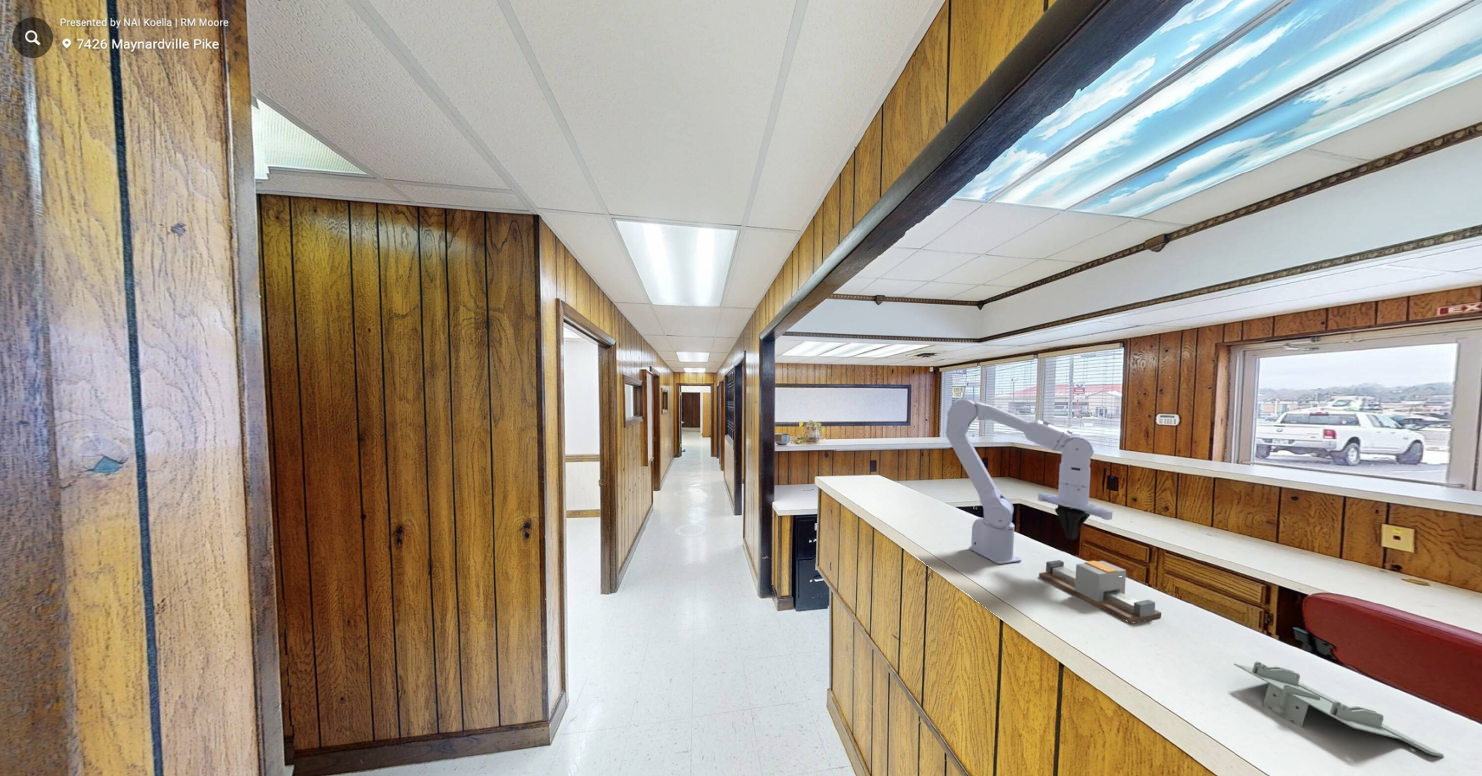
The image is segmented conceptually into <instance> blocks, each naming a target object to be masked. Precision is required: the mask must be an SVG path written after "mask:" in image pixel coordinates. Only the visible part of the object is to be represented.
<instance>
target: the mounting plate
mask: <svg viewBox="0 0 1482 776" xmlns="http://www.w3.org/2000/svg"><path fill="white" fill-rule="evenodd" d="M1038 574H1039V575H1038V577H1039V578H1040V579H1042V580H1045V581H1047V582H1048V583H1050V584H1052V585H1054V586H1056V587H1058V588H1060V589H1062V590H1064V591H1066V592H1068V593H1069V594H1072V595H1073V596H1075V597H1078V598H1079V599H1081V600H1083V601H1086V602H1087V603H1090V604H1092V605H1093V606H1095V607H1097V608H1099V609H1101V610H1102V611H1103V610H1104V612H1107V613H1110V614H1112V615H1113V616H1115V617H1117V618H1119V619H1121V618H1122V619H1121V620H1123V619H1124V620H1123V621H1125V620H1127V621H1128V622H1127V621H1126V622H1127V623H1129V622H1130V623H1129V624H1131V623H1132V624H1134V623H1133V622H1136V623H1139V622H1138V621H1141V622H1144V620H1146V621H1150V620H1149V619H1151V620H1154V619H1160V618H1162V612H1161V611H1159V610H1157V609H1155V614H1154V615H1149V616H1144V617H1138V616H1136V615H1134V613H1132V612H1130V611H1128V610H1126V609H1123V608H1121V607H1119V606H1117V605H1115V604H1113V603H1111V602H1109V601H1107V600H1105V599H1103V601H1099V602H1097V601H1095V600H1093V599H1091V598H1089V597H1087V596H1085V595H1083V594H1081V593H1079V592H1077V591H1075V585H1074V584H1072V583H1070V582H1068V581H1066V580H1064V579H1061V578H1059V577H1057V576H1055V575H1053V574H1049V573H1047V572H1046V571H1044V572H1038Z"/></svg>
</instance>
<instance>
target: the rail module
mask: <svg viewBox="0 0 1482 776" xmlns="http://www.w3.org/2000/svg"><path fill="white" fill-rule="evenodd" d="M1101 568H1102V569H1101ZM1104 569H1105V570H1104ZM1075 572H1076V579H1075V591H1077V592H1079V593H1081V594H1083V595H1085V596H1087V597H1089V598H1091V599H1093V600H1095V601H1097V602H1099V601H1103V592H1105V591H1111V590H1116V591H1118V592H1120V593H1123V594H1125V595H1126V577H1127V570H1126V569H1124V568H1122V567H1119V566H1116V565H1115V564H1114V565H1113V564H1112V563H1108V562H1107V561H1104V560H1099V561H1098V560H1089V561H1084V563H1078V564H1075ZM1119 576H1122V577H1119Z"/></svg>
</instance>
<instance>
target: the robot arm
mask: <svg viewBox="0 0 1482 776" xmlns="http://www.w3.org/2000/svg"><path fill="white" fill-rule="evenodd" d="M946 416H947V420H946V426H945V427H946V428H945V435H946V438H947V439H948V441H949V444H951V447H952V449H953V450H954V452H955V455H956V456H957V457H958V460H959V461H960V463H961V465H962V466H963V468H964V471H965V472H966V473H967V476H968V477H969V480H970V481H971V484H973V487H974V488H975V491H976V492H977V494H978V497H979V502H980V505H981V506H982V508H983V517H979V518H977V519H975V520H974V522H973V524H972V525H971V526H972V527H971V544H970V546H968V549H969V550H970V551H973V552H975V553H977V554H979V555H980V556H983V557H984V558H986V559H988V560H990V561H992V562H993V563H996V564H998V565H1003V564H1011V563H1019V562H1022V559H1021V558H1019V557H1017V556H1016V555H1014V542H1015V541H1014V539H1015V524H1014V523H1013V522H1012V521H1013V514H1014V509H1015V508H1014V505H1013V503H1012V502H1011V501H1010V500H1009V499H1008V498H1007V497H1005V496H1004V495H1003V493H1002V491H1001V490H1000V488H998V487H997V485H996V484H995V482H994V480H993V478H992V477H991V475H990V473H989V471H988V470H987V468H986V466H985V464H984V462H983V461H982V458H981V457H980V456H979V453H978V452H977V450H976V449H975V448H976V447H974V445H973V444H972V441H971V440H970V438H969V436H968V432H969V429H970V426H971V424H972V422H974V420H975V419H976V420H977V421H987V420H991V421H993V422H996V423H998V424H1001V425H1004V426H1007V427H1009V428H1012V429H1014V430H1016V431H1019V432H1021V433H1023V434H1024V436H1025V439H1026V440H1028V441H1030V442H1033V443H1035V444H1037V445H1039V446H1041V447H1044V448H1046V449H1048V450H1051V451H1053V452H1061V460H1060V461H1061V462H1060V463H1059V471H1058V472H1059V473H1058V474H1059V476H1058V491H1057V492H1058V493H1057V494H1058V495H1055V494H1049V493H1045V492H1040V493H1039V492H1038V493H1037V497H1038V498H1037V501H1039V502H1043V503H1044V502H1045V503H1048V504H1052V505H1055V506H1057V507H1055V508H1054V512H1055V513H1056V514H1057V516H1058V518H1059V520H1060V522H1061V525H1062V528H1063V529H1062V530H1063V532H1064V536H1065V537H1064V538H1066V539H1068V540H1072V541H1074V540H1077V538H1078V534H1079V532H1080V530H1081V528H1082V526H1083V525H1084V523H1085V522H1086V521H1087V519H1089V517H1090V516H1095V517H1097V518H1101V519H1102V520H1105V521H1110V520H1112V519H1113V510H1110V509H1106V508H1103V507H1101V506H1097V505H1095V504H1092V503H1089V502H1090V483H1091V467H1090V465H1091V458H1092V456H1093V455H1094V453H1095V451H1094V449H1093V445H1092V444H1091V443H1090V442H1089V440H1088V439H1086V438H1085V437H1084V436H1082V435H1080V434H1077V433H1073V430H1069V429H1068V430H1064V429H1062V428H1060V427H1057V426H1054V425H1053V424H1051V421H1048V420H1045V419H1044V420H1040V419H1037V420H1033V421H1028V420H1026V419H1024V418H1021V417H1019V416H1017V415H1014V414H1012V413H1010V412H1008V411H1005V410H1004V409H1001V408H999V407H996V406H993V405H991V404H987V403H985V402H981V401H976V400H974V399H973V398H972V399H971V398H962V399H958V400H956V401H954V402H953V403H952V405H950V408H949V410H948V411H947V413H946Z"/></svg>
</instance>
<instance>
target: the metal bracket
mask: <svg viewBox="0 0 1482 776" xmlns="http://www.w3.org/2000/svg"><path fill="white" fill-rule="evenodd" d="M1233 666H1236V667H1237V668H1240V669H1241V670H1243V671H1245V672H1247V673H1249V674H1251V675H1253V676H1254V677H1256V678H1258V679H1260V680H1262V681H1263V682H1266V683H1267V684H1268V685H1267V688H1266V692H1265V696H1264V699H1263V702H1262V706H1263V707H1266V708H1267V709H1270V708H1271V712H1272V711H1273V712H1275V713H1276V714H1277V715H1279V716H1281V717H1283V718H1284V719H1286V720H1288V721H1291V722H1292V721H1293V722H1294V724H1295V725H1297V726H1298V727H1300V728H1301V727H1303V724H1304V722H1305V718H1306V715H1307V711H1308V708H1309V706H1311V707H1313V708H1315V709H1317V710H1318V711H1320V712H1322V713H1324V714H1326V715H1328V716H1330V717H1332V718H1333V719H1336V720H1337V721H1338V722H1341V723H1343V724H1344V725H1347V726H1348V727H1350V728H1353V729H1356V730H1361V731H1364V732H1369V733H1372V734H1377V735H1381V736H1383V737H1384V736H1385V737H1389V738H1394V739H1398V740H1400V741H1402V742H1405V743H1407V744H1409V745H1411V746H1412V747H1415V748H1417V749H1419V750H1421V751H1422V752H1424V753H1426V754H1429V755H1431V756H1436V757H1440V758H1444V756H1445V755H1444V754H1443V753H1442V752H1439V751H1438V750H1436V749H1434V748H1432V747H1430V746H1428V745H1426V744H1424V743H1422V742H1421V741H1420V742H1419V741H1418V740H1416V739H1414V738H1412V737H1410V736H1408V735H1406V734H1404V733H1402V732H1401V731H1398V730H1396V729H1394V728H1392V727H1390V726H1389V725H1386V724H1385V723H1383V721H1384V718H1385V717H1384V715H1383V714H1382V713H1379V712H1377V711H1375V710H1374V709H1369V708H1365V707H1360V706H1348V705H1346V704H1344V703H1342V702H1340V701H1338V700H1336V699H1334V698H1332V697H1330V696H1328V695H1327V694H1324V693H1322V692H1321V691H1318V690H1316V689H1314V688H1312V687H1310V686H1308V685H1307V684H1304V683H1302V682H1301V681H1300V678H1301V675H1300V673H1298V672H1295V671H1293V670H1290V669H1287V668H1284V667H1281V666H1267V665H1266V664H1264V663H1261V662H1260V661H1255V662H1254V664H1253V667H1250V666H1246V665H1242V664H1238V663H1234V664H1233Z"/></svg>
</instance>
